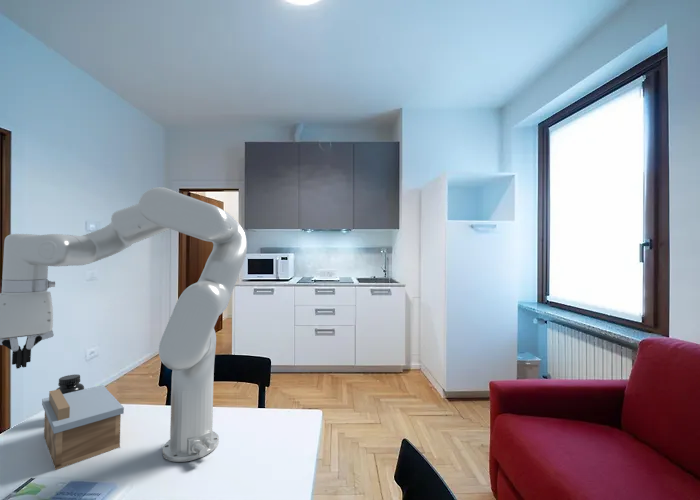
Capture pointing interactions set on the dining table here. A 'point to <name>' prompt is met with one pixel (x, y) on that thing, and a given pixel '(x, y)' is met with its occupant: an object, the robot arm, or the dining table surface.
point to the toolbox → (82, 441)
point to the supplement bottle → (70, 384)
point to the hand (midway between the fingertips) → (21, 366)
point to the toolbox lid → (80, 407)
